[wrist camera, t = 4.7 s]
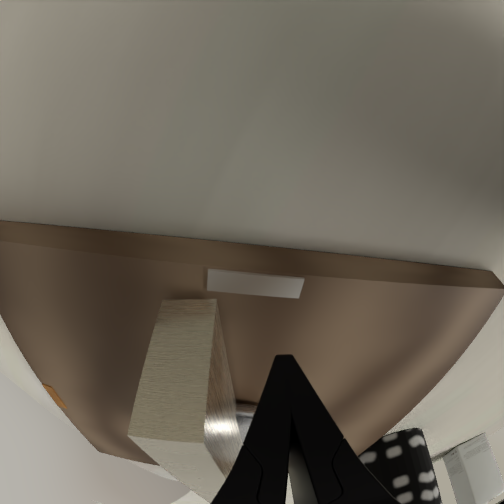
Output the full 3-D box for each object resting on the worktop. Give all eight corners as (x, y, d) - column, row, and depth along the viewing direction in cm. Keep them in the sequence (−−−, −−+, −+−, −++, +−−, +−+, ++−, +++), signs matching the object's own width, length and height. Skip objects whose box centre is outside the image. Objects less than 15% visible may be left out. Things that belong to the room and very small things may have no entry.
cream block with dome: (295, 451, 18) (301, 507, 14) (176, 451, 18) (171, 506, 14) (329, 292, 9) (369, 429, 5) (75, 299, 9) (21, 407, 5)
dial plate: (492, 271, 11) (508, 290, 10) (338, 456, 25) (340, 469, 23) (-13, 219, 9) (-33, 237, 8) (101, 439, 23) (98, 452, 21)
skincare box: (441, 456, 37) (457, 517, 24) (457, 444, 34) (475, 510, 21) (471, 443, 37) (488, 499, 24) (487, 430, 34) (507, 490, 21)
